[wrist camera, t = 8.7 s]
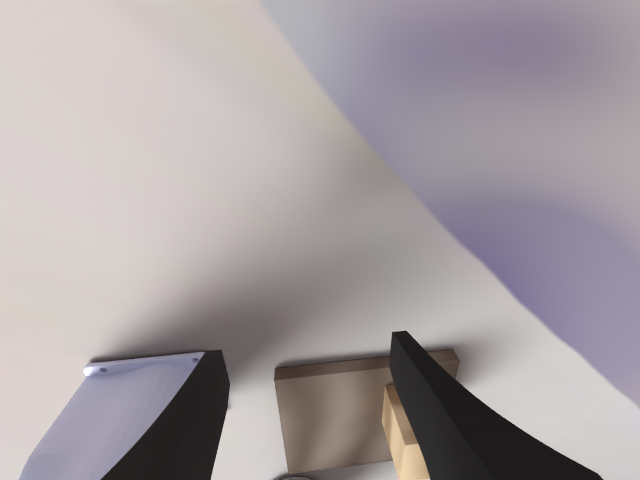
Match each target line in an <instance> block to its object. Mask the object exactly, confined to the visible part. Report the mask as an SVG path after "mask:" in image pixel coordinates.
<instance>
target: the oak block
mask: <svg viewBox="0 0 640 480" xmlns="http://www.w3.org/2000/svg"><path fill="white" fill-rule="evenodd" d="M382 424H383V427H384V431H385V434H386V438H387V441H388V444H389V448H390V451H391V455H392V458H393V462H394V465H395V468H396V472H397V475H398V479H399V480H422V479H429V478H430V476H429V473H428V470H427V467H426V464H425V461H424V458H423V455H422V452H421V450H420V447H419V444H418V442H417V440H416V437H415V435H414V432H413V430H412V428H411V425H410V423H409V420H408V418H407V416H406V413H405V411H404V409H403V406H402V404H401V401H400V399H399V396H398V394H397V391H396V388H395V385H388V386H385V391H384V402H383V414H382Z"/></svg>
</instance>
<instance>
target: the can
mask: <svg viewBox="0 0 640 480" xmlns="http://www.w3.org/2000/svg"><path fill="white" fill-rule="evenodd" d="M282 480H311V479H309V478H305V477H289V478H285V479H282Z"/></svg>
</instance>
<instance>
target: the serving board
mask: <svg viewBox="0 0 640 480" xmlns="http://www.w3.org/2000/svg"><path fill="white" fill-rule="evenodd" d="M427 353H428V354H429V355H430V356H431V357H432V358H433V359H434V360H435V361H436V362H437V363H438V364H439V365H440V366H441V367H442V368H444V369H445V370H446V371H447V372H448V373H449V374H450V375H451V376H452V377H453V378H454V379H455V378H456V373H457V369H458V365H459V358H458V357H457V355H456V354H455V352H454V351H453V349H451V350H442V351H433V352H427ZM389 363H390V356H386V357H377V358H368V359H359V360H349V361H340V362H331V363H322V364H312V365H303V366H294V367H285V368H275V376H274V382H275V388H276V395H277V401H278V408H279V414H280V421H281V428H282V434H283V441H284V447H285V454H286V460H287V467H288V473H289V474H295V473H302V472H310V471H317V470H325V469H332V468H339V467H347V466H354V465H362V464H369V463H377V462H384V461H392V460H393V458H392V455H391V451H390V448H389V444H388V441H387V438H386V434H385V431H384V427H383V424H382V414H383V402H384V391H385V386H388V385H394V382H393V378H392V375H391V371H390V368H389Z"/></svg>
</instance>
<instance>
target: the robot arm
mask: <svg viewBox="0 0 640 480" xmlns="http://www.w3.org/2000/svg"><path fill="white" fill-rule="evenodd" d="M195 358H197V359H195ZM389 368H390V371H391V375H392V378H393V382H394V385H395V388H396V391H397V394H398V396H399V399H400V401H401V404H402V406H403V409H404V411H405V413H406V416H407V418H408V420H409V423H410V425H411V428H412V430H413V432H414V435H415V437H416V440H417V442H418V444H419V447H420V450H421V452H422V455H423V458H424V461H425V464H426V467H427V470H428V473H429V476H430V479H431V480H603V479H602V478H601V477H600V476H599V474H597V473H595V472H594V471H592V470H590V469H588V468H586V467H584V466H583V465H581V464H579V463H577V462H575V461H573V460H571V459H570V458H568V457H566V456H564V455H562V454H560V453H559V452H557V451H555V450H554V449H552V448H550V447H549V446H547V445H545V444H544V443H542V442H540V441H539V440H537V439H535V438H534V437H532V436H531V435H529V434H527V433H526V432H524V431H523V430H521V429H520V428H518V427H517V426H515V425H514V424H512V423H511V422H509V421H508V420H506V419H505V418H503V417H502V416H501V415H499V414H498V413H496V412H495V411H494V410H492V409H491V408H490V407H488V406H487V405H486V404H484V403H483V402H482V401H480V400H479V399H478V398H477V397H475V396H474V395H473V394H472V393H470V392H469V391H468V390H467V389H466V388H465V387H463V386H462V385H461V384H460V383H459V382H458V381H457V380H455V379H454V378H453V377H452V376H451V375H450V374H449V373H448V372H447V371H446V370H445V369H444V368H442V367H441V366H440V365H439V364H438V363H437V362H436V361H435V360H434V359H433V358H432V357H431V356H430V355H429V354H428V353H427V352H426V351H425V350H424V349H423V348H422V347H421V346H420V345H419V344H418V342H417V341H416V340H415V339H414V338H413V337H412V336H411V335H410V334H409V333H408V332H407V331H399V332H392V340H391V351H390V363H389ZM83 371H84V373H85V375H86V377H87V378H86V379H85V380H84V382H83V383H82V384H81V386H80V387H79V389H78V390H77V391H76V393H75V394H74V395H73V397H72V398H71V400H70V401H69V402H68V404H67V405H66V406H65V408H64V409H63V411H62V412H61V413H60V415H59V416H58V417H57V419H56V420H55V422H54V423H53V424H52V426H51V427H50V428H49V430H48V431H47V433H46V434H45V435H44V437H43V438H42V440H41V441H40V442H39V444H38V445H37V446H36V448H35V449H34V451H33V452H32V454H31V455H30V457H29V459H28V460H27V462H26V464H25V466H24V468H23V470H22V473H21V475H20V477H19V480H211V475H212V470H213V466H214V462H215V458H216V454H217V450H218V445H219V441H220V437H221V433H222V429H223V424H224V420H225V416H226V411H227V405H228V397H229V388H230V382H229V378H228V374H227V370H226V366H225V362H224V358H223V354H222V350H213V351H206V352H196V353H186V354H177V355H167V356H157V357H147V358H138V359H128V360H118V361H108V362H98V363H90V364H87V365H86V366H85V367H84V369H83Z"/></svg>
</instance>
